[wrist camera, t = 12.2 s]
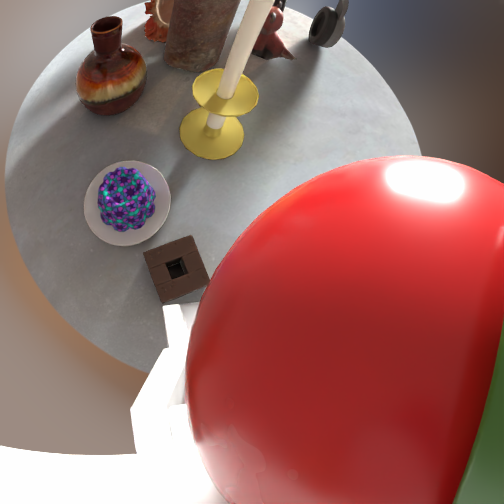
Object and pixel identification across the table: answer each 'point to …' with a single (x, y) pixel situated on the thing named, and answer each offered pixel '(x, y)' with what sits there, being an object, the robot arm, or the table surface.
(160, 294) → the block
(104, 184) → the pudding
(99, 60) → the vase
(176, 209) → the table surface
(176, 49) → the brown textured cylinder
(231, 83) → the candle
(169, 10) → the seashell
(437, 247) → the joystick
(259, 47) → the stuffed fox
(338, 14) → the headphones
